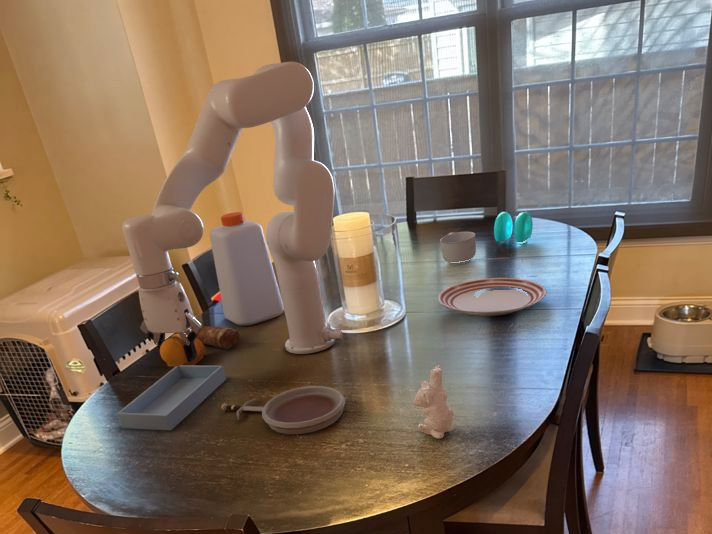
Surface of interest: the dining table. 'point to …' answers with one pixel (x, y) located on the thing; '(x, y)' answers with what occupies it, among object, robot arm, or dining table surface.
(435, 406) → the pink rabbit figurine
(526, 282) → the dinner plate
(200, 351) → the mango
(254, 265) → the plastic bottle
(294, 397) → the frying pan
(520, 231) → the teal twin oval discs
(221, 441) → the dining table surface
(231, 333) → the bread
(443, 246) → the teacup
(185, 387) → the baking pan
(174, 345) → the mango
